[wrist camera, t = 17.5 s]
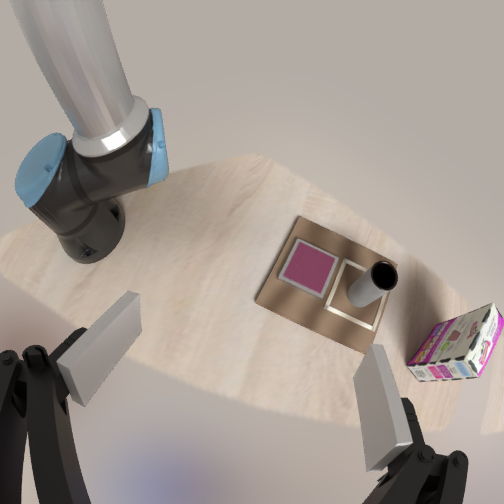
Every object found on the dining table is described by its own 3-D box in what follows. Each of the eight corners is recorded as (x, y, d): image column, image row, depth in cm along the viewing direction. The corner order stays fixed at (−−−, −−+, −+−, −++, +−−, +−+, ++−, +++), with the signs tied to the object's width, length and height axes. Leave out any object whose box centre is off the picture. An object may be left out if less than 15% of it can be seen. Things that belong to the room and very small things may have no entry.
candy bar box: (419, 383, 39) (479, 379, 24) (405, 366, 40) (464, 357, 25) (449, 339, 42) (507, 321, 27) (436, 323, 43) (493, 299, 28)
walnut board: (255, 303, 45) (255, 301, 44) (298, 219, 52) (299, 215, 51) (365, 354, 41) (368, 354, 40) (395, 266, 48) (397, 264, 47)
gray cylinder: (358, 277, 46) (382, 254, 37) (375, 295, 45) (403, 276, 35) (342, 294, 45) (364, 274, 35) (359, 313, 43) (386, 297, 34)
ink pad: (277, 279, 46) (278, 276, 44) (296, 241, 49) (297, 237, 47) (320, 300, 44) (322, 297, 43) (337, 260, 47) (339, 257, 46)
